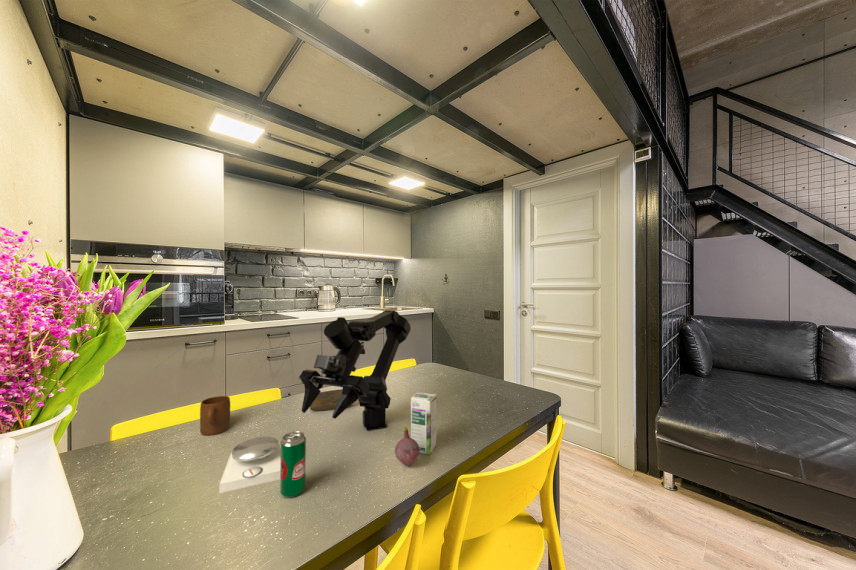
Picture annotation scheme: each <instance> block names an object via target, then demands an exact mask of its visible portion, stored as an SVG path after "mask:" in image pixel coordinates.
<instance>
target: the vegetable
mask: <svg viewBox="0 0 856 570" xmlns="http://www.w3.org/2000/svg"><path fill="white" fill-rule="evenodd" d="M403 431H404V434H403V436H404V437H403V438H401V439H400V440H399V441H398V442H397V443H396V445H395V447H394V454H395V457H396V458H397V460H398V461H399V462H400V463H401V464H402V465H404V466H406V467H407V466H408V467H409V466H411V464H413V463H415V462H416V461H417V460H418V457H419V455H420V449H419V446H418V443H417V442H416V441H415V440H414V439H412V438H411V435H409V434H410V433H409V430H408V427H407V426H406V425H405V426H404V428H403Z"/></svg>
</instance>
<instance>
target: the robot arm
mask: <svg viewBox="0 0 856 570" xmlns="http://www.w3.org/2000/svg"><path fill="white" fill-rule="evenodd" d="M411 328H412V327H411V324H410V322H409V321H408V320H407V318H405V317H404V316H402V315H400V314H399V313H398V311H396V310H387V309H386V310H383V311H382V312H380V313H378V314H376V315H373V316H372V317H369V318H367V319H357V320H356V319H355V320H351V321H349V322H348V321H347V319H346V318H345V317H342V316H340V317H339V316H337V318H336V319H335V320H333V321H331V322H330V323H328V324H327V325H325V327H324V330H323V334H324V336H325V337H326V338H327V340H328V341H329V342H330V343H331V345H332V347H334V349H336V350H338V352H337V353H336V354H335V355H322V354H321V355H320V354H317V355H316V359H315V362H314V365H313V368H314V369H320V370H321V374H322V375H325V376H322V375H321V374H320V373H319V372H318V371H317V370H312V369H304V370H302V372H301V373H300V375H299V376H298V379H299V380H300V381H301V383H302V384H303V386H304V395H303V400H302V407H301V412H302V413H303V414H305V413H306V412H307V411H308V410H309V409H310V406H311V404H312V403H313V402H314V400H315V399H316V397H317V396H318V395H319V393H320V392H322V391H321V390H320V389H322V388H323V387H324V386H332V387H338V388H341V389H342V395H341V397H340V399H339V401H338V404H337V406H336V408H335V409H333V413H332V418H333V419H334V420H335V419H337V418H338V417H339V416H340V415H342V413H343V412H344V411H345V410H347V409H348V408H349V407H351V406H352V405H353V404H354V403H355V402H356V401H358V405H359V407H361V408H362V407H363V408H364V409H363V410H362V425H363V427H364V428H365V430H366V431H373V430H378V429H385V428H388V424H387V423H386V419H387V418H386V417H387V415H386V413H387V411H386V409H389V408H390V407H389V406H390V404H391V400H392V398H391V397H390V395H389V394H388V393H387V391H388V386H387V382H386V380H387V377H388V375H389V371H390V369H391V367H392V364H393V362H394V359H395V357H396V354H397V351H398V349H399V347H400V344H402V343H403V342H404V341H406V340H407V339H408V336H409V334H410V332H411ZM381 329H384V330H385V335H386V339H385V342H384V345H383V347H382V350H381V351H380V354H379V356H378V359H377V361H376V364H375V366H374V369H373V371H372V373H371V374H370V375H364V377H363V376H361V375H360V376H359V375H352V372H353V373H355V372H356V370H357V368H356V363H357V361H358V359H359V357H360V355H365V354H366V349H365V345H364V344H362V343H361V342H370V341H371V340H372V339H374V338H375V337H376V334H377V331H380V330H381ZM351 404H352V405H351ZM350 405H351V406H350Z"/></svg>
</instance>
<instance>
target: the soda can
mask: <svg viewBox="0 0 856 570" xmlns="http://www.w3.org/2000/svg"><path fill="white" fill-rule="evenodd" d="M281 439H282V440H280V443H281V447H280V480H279V482H280V484H279V486H280V487H279V489H280V490H279V492H280V494H281V496H283V497H285V498H287V499H289V498H294V497H297V496H299V495H301V493H303V491H304V490H305V489H306V486H307V485H306V483H307V481H306V480H307V479H306V477H307V475H306V474H307V473H306V471H307V461H306V460H307V455H306V454H307V447H306V446H307V438H306V436H305V433H304V431H291V432H288V433H286V434H284V435H283V436H282V438H281Z"/></svg>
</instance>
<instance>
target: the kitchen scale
mask: <svg viewBox="0 0 856 570" xmlns="http://www.w3.org/2000/svg"><path fill="white" fill-rule="evenodd" d="M280 447H281V442H278V448H277V449H276V450H275V451H274V452H273V453H272V454H270V455H268V456H266V457H263V458H261V459H257V460H253V461H237V460H234V459H233V458H232V451H231V453H230V455H229V457H228V460H227V463H226V466H225V468H224V470H223V473H222V476H221V479H220V481H219V483H218V484H219V486H218V487H219V490H218V491H219V493H218V494H222V493H228V492H232V491H236V490H240V489H244V488H245V489H246V488H249V487H253V486H257V485H259V486H260V485H262V484H267V483H271V482H276V481H280Z"/></svg>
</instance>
